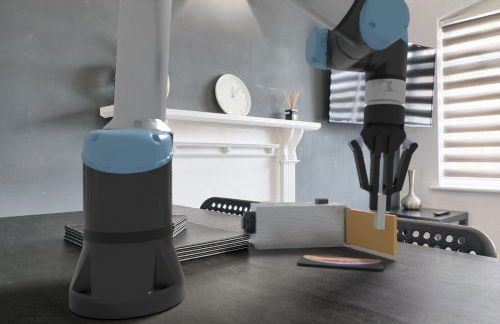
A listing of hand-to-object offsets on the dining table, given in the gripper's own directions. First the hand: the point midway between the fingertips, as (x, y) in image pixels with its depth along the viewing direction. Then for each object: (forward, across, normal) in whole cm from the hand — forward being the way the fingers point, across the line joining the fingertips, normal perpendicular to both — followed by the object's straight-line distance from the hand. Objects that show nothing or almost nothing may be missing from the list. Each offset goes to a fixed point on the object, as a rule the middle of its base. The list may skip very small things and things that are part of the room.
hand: (378, 228), depth 77 cm
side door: (+5, 0, +5) cm, 7 cm away
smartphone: (+7, -8, -4) cm, 11 cm away
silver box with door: (+6, -15, +13) cm, 21 cm away
